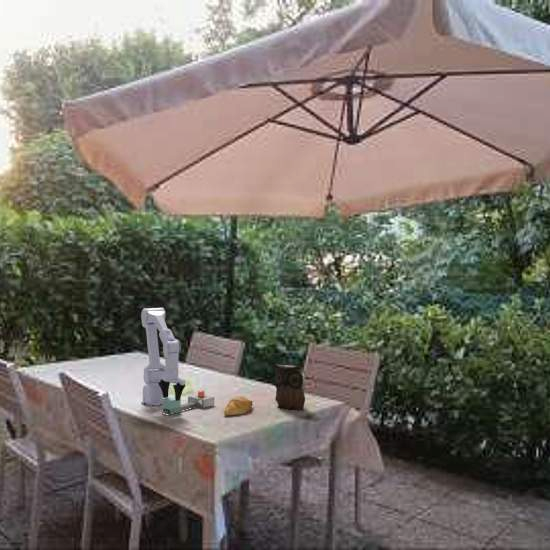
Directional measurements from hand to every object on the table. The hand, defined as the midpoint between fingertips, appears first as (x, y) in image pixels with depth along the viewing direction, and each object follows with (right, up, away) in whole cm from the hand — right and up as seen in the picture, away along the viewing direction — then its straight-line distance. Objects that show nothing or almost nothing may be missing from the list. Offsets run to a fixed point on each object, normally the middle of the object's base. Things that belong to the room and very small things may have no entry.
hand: (171, 399), depth 314 cm
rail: (+3, -6, +5) cm, 8 cm away
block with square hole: (+11, -5, +15) cm, 19 cm away
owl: (+53, -6, +13) cm, 55 cm away
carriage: (0, -6, 0) cm, 6 cm away
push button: (+11, -3, +15) cm, 19 cm away
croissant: (+29, -7, +5) cm, 30 cm away
